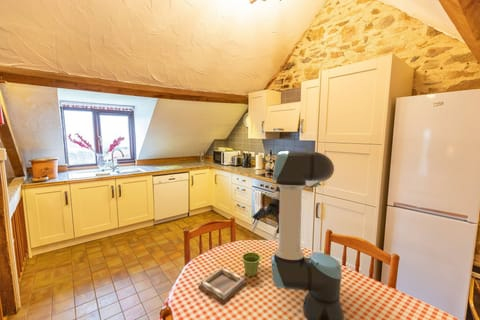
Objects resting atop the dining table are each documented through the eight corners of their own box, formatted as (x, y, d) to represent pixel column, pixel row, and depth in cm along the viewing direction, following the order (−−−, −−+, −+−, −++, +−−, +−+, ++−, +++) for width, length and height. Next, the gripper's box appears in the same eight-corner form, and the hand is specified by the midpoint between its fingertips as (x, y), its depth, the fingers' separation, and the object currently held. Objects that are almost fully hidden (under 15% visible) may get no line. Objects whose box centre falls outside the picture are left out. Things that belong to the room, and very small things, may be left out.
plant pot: (260, 278, 111) (261, 262, 110) (241, 278, 111) (242, 262, 110) (259, 267, 120) (259, 252, 119) (242, 267, 120) (242, 252, 119)
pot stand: (246, 284, 107) (246, 278, 106) (223, 304, 94) (223, 297, 94) (221, 271, 117) (221, 265, 116) (198, 287, 104) (198, 281, 104)
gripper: (298, 209, 127) (285, 244, 117) (261, 200, 142) (247, 231, 132) (295, 202, 122) (281, 238, 112) (257, 194, 137) (241, 225, 128)
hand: (262, 234), depth 122 cm, fingers open, 13 cm apart
